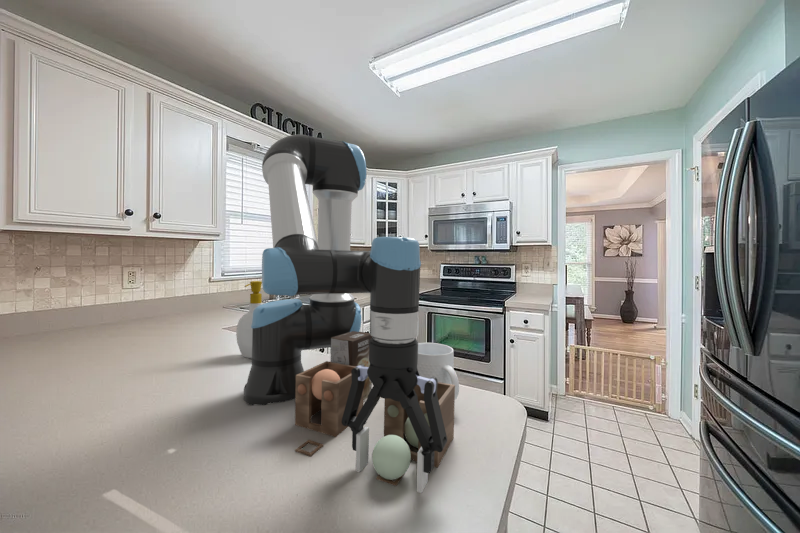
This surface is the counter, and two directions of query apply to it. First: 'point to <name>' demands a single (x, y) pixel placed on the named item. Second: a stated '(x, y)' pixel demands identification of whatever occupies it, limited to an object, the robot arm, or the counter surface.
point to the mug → (437, 363)
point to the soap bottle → (248, 321)
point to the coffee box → (352, 352)
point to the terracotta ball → (317, 381)
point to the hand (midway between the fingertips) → (390, 480)
